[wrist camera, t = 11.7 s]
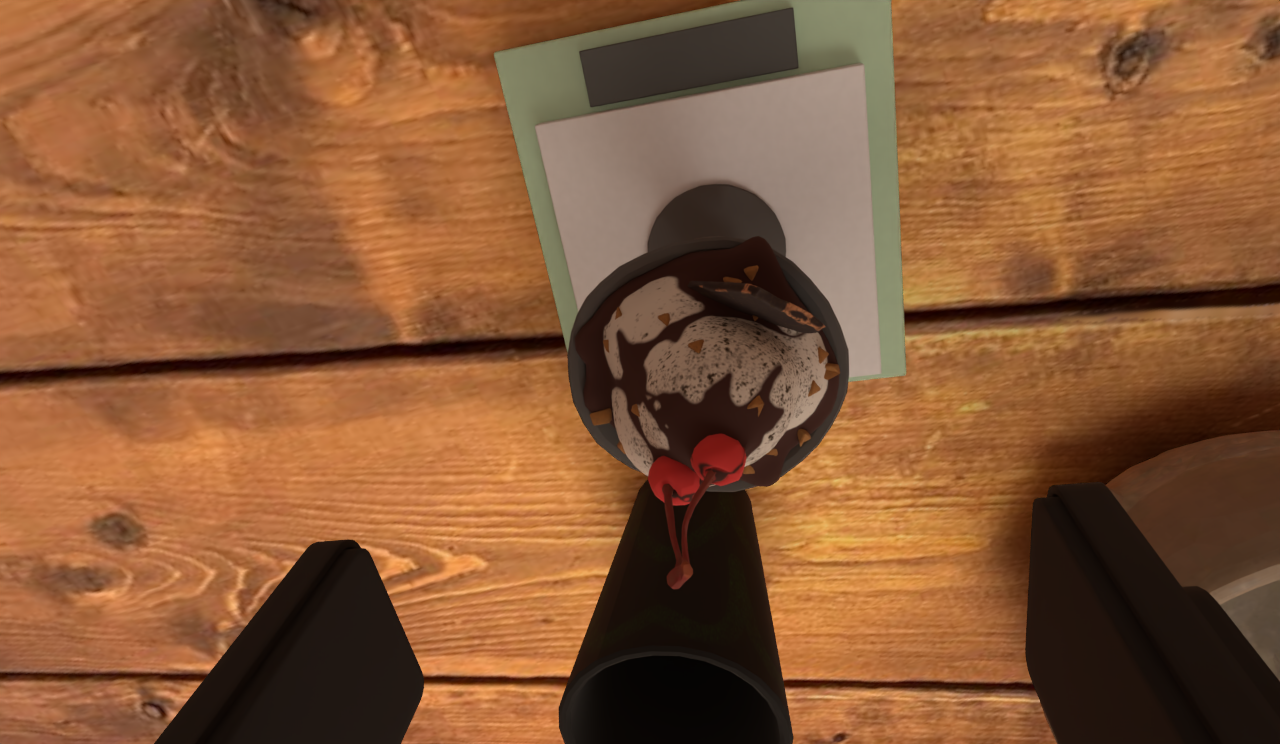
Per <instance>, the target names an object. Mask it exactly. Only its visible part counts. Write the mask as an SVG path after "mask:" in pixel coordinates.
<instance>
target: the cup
mask: <svg viewBox="0 0 1280 744" xmlns="http://www.w3.org/2000/svg"><path fill="white" fill-rule="evenodd" d="M688 506H689V504H687V505H678V506H675V505H673V511H674V519H675V531H676V538H677V542H678V545H679V549H680V552H681V556H682V543H681V542H682V524H683V520H684V517H685V514H686V511H687V508H688ZM687 545H688V555H689V562H690V565H691V567H692V569H693V574H692V576H691V577H690V578H689V579H688V580H687V581H686V582H685V583H684V584H683V585H682V586H681V587H680V588H679V589H672V588H671V587H670V586H669V585H668V584H667V575H668V573H669V572H670V571H671V570H672V569H674V568H675V565H676V557H675V553H674V550H673V547H672V543H671V540H670V535H669V529H668V523H667V518H666V512H665V503H664V502H663V501H661V500H660V499H659V498H657V497H656V496H655V494H654V492H653V491H652V489H651V486H650V484H649V481H648V480H647V481H646V482H645V483H644V485H643V486H642V487H641V489H640V490H639V493H638V495H637V498H636V501H635V503H634V506H633V509H632V511H631V514H630V517H629V519H628V522H627V525H626V527H625V530H624V533H623V535H622V538H621V541H620V544H619V546H618V549H617V552H616V554H615V557H614V560H613V562H612V565H611V568H610V570H609V573H608V576H607V578H606V581H605V584H604V586H603V589H602V592H601V595H600V597H599V600H598V603H597V605H596V608H595V611H594V613H593V616H592V619H591V621H590V624H589V627H588V629H587V632H586V635H585V637H584V640H583V643H582V645H581V648H580V651H579V654H578V656H577V659H576V662H575V664H574V667H573V670H572V672H571V675H570V678H569V680H568V683H567V686H566V688H565V691H564V694H563V697H562V700H561V703H560V706H559V729H560V731H561V734H562V737H563V740H564V743H565V744H792V743H793V733H792V727H791V721H790V716H789V710H788V705H787V699H786V694H785V688H784V683H783V677H782V672H781V666H780V660H779V655H778V649H777V644H776V638H775V633H774V627H773V622H772V616H771V611H770V605H769V600H768V594H767V589H766V583H765V578H764V572H763V566H762V561H761V555H760V550H759V544H758V539H757V533H756V528H755V522H754V517H753V511H752V506H751V501H750V499H749V497H748V495H747V493H746V491H745V490H740V491H736V492H710V491H705V493H704V494H703V496H702V497H701V499H700V500H699V502H698V503H697V505H696V506H695V508H694V511H693V513H692V516H691V518H690V520H689V524H688V529H687Z"/></svg>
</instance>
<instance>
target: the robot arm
mask: <svg viewBox="0 0 1280 744" xmlns="http://www.w3.org/2000/svg"><path fill="white" fill-rule="evenodd" d="M1025 650H1026V661H1027V666H1028V671H1029V674H1030V677H1031V680H1032V683H1033V685H1034V687H1035V690H1036V692H1037V695H1038V697H1039V699H1040V702H1041V704H1042V706H1043V709H1044V711H1045V713H1046V716H1047V718H1048V721H1049V723H1050V725H1051V728H1052V730H1053V732H1054V735H1055V737H1056V739H1057V742H1058V744H1280V681H1279V680H1278V678H1277V677H1276V676H1275V675H1274V673H1273V672H1272V671H1271V669H1270V668H1269V667H1268V666H1267V664H1266V663H1265V662H1264V660H1263V659H1262V658H1261V657H1260V655H1259V654H1258V653H1257V652H1256V650H1255V649H1254V648H1253V646H1252V645H1251V644H1250V643H1249V641H1248V640H1247V639H1246V638H1245V636H1244V635H1243V634H1242V632H1241V631H1240V630H1239V629H1238V627H1237V626H1236V625H1235V624H1234V622H1233V621H1232V620H1231V618H1230V617H1229V616H1228V615H1227V613H1226V612H1225V611H1224V609H1223V608H1222V607H1221V606H1220V604H1219V603H1218V602H1217V601H1216V600H1215V599H1214V598H1213V597H1212V596H1211V595H1210V594H1209V593H1208V592H1207V591H1206V590H1204V589H1202V588H1200V587H1198V586H1188V587H1182V586H1181V585H1180V584H1179V582H1178V581H1177V580H1176V578H1175V577H1174V576H1173V574H1172V573H1171V572H1170V570H1169V569H1168V567H1167V566H1166V565H1165V563H1164V562H1163V561H1162V559H1161V558H1160V557H1159V555H1158V554H1157V553H1156V551H1155V550H1154V549H1153V547H1152V546H1151V545H1150V543H1149V542H1148V541H1147V539H1146V538H1145V537H1144V535H1143V534H1142V533H1141V531H1140V530H1139V529H1138V527H1137V526H1136V524H1135V523H1134V522H1133V520H1132V519H1131V518H1130V516H1129V515H1128V514H1127V512H1126V511H1125V510H1124V508H1123V507H1122V506H1121V504H1120V503H1119V502H1118V500H1117V499H1116V498H1115V496H1114V495H1113V494H1112V492H1111V491H1110V490H1109V488H1108V487H1107V486H1106V485H1105V484H1104V483H1101V482H1090V483H1077V484H1064V485H1053V486H1051V487H1050V488H1049V490H1048V493H1047V497H1046V498H1036V499H1035V500H1034V502H1033V509H1032V529H1031V549H1030V568H1029V588H1028V608H1027V628H1026V648H1025ZM423 689H424V678H423V674H422V671H421V668H420V666H419V664H418V662H417V659H416V657H415V655H414V652H413V650H412V648H411V646H410V643H409V641H408V639H407V637H406V634H405V632H404V630H403V627H402V625H401V623H400V621H399V618H398V616H397V614H396V611H395V609H394V607H393V605H392V602H391V600H390V598H389V596H388V593H387V591H386V589H385V586H384V584H383V582H382V580H381V577H380V575H379V573H378V571H377V568H376V566H375V564H374V561H373V559H372V557H371V555H370V553H369V552H368V551H367V550H366V549H363V548H361V547H360V546H359V544H358V543H357V542H355V541H354V540H337V541H324V542H316V543H313V544H312V545H310V546H309V547H308V548H307V549H306V551H305V552H304V553H303V554H302V556H301V557H300V558H299V560H298V561H297V562H296V563H295V565H294V566H293V567H292V568H291V570H290V571H289V572H288V574H287V575H286V576H285V577H284V579H283V580H282V581H281V582H280V584H279V585H278V586H277V588H276V589H275V590H274V591H273V593H272V594H271V595H270V597H269V598H268V599H267V600H266V602H265V603H264V604H263V605H262V607H261V608H260V609H259V611H258V612H257V613H256V614H255V616H254V617H253V618H252V619H251V621H250V622H249V623H248V625H247V626H246V627H245V628H244V630H243V631H242V632H241V633H240V635H239V636H238V637H237V639H236V640H235V641H234V642H233V644H232V645H231V646H230V647H229V649H228V650H227V651H226V653H225V654H224V655H223V656H222V658H221V659H220V660H219V661H218V663H217V664H216V665H215V667H214V668H213V669H212V670H211V672H210V673H209V674H208V676H207V677H206V678H205V679H204V681H203V682H202V683H201V684H200V686H199V687H198V688H197V690H196V691H195V692H194V693H193V695H192V696H191V697H190V698H189V700H188V701H187V702H186V704H185V705H184V706H183V707H182V709H181V710H180V711H179V712H178V714H177V715H176V716H175V718H174V719H173V720H172V721H171V723H170V724H169V725H168V726H167V728H166V729H165V730H164V732H163V733H162V734H161V735H160V737H159V738H158V739H157V741H156V742H155V743H154V744H401V742H402V740H403V738H404V735H405V733H406V731H407V729H408V727H409V725H410V722H411V720H412V718H413V716H414V714H415V711H416V709H417V707H418V705H419V703H420V700H421V697H422V694H423Z"/></svg>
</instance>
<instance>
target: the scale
mask: <svg viewBox="0 0 1280 744" xmlns="http://www.w3.org/2000/svg"><path fill="white" fill-rule="evenodd" d="M494 58H495V62H496V66H497V70H498V74H499V78H500V82H501V86H502V90H503V94H504V98H505V102H506V106H507V110H508V114H509V119H510V123H511V127H512V131H513V135H514V139H515V143H516V147H517V151H518V155H519V159H520V163H521V167H522V171H523V175H524V179H525V183H526V187H527V191H528V195H529V199H530V203H531V207H532V211H533V215H534V219H535V223H536V227H537V231H538V235H539V239H540V244H541V248H542V252H543V256H544V260H545V264H546V268H547V272H548V276H549V280H550V284H551V288H552V292H553V296H554V300H555V304H556V308H557V312H558V316H559V320H560V324H561V328H562V332H563V336H564V340H565V344H566V348H567V352H568V348H569V342H570V335H571V331H572V328H573V325H574V322H575V319H576V315H577V313H578V311H579V310H580V308H581V306H582V304H583V302H584V300H585V299H586V297H587V296H588V295H589V294H590V293H591V292H592V291H593V290H594V288H595V287H596V286H597V285H598V284H599V283H600V282H601V281H602V280H604V279H605V278H606V277H607V276H608V275H610V274H611V273H612V272H613V271H614V270H616V269H617V268H618V267H619V266H621V265H623V264H625V263H627V262H629V261H631V260H633V259H635V258H637V257H639V256H641V255H643V254H645V253H647V252H648V240H649V236H650V233H651V229H652V227H653V225H654V222H655V220H656V218H657V216H658V215H659V214H660V213H661V211H662V210H663V209H664V208H665V207H666V206H667V205H668V204H669V203H670V202H671V201H672V200H673V199H674V198H675V197H677V196H679V195H680V194H682V193H684V192H686V191H688V190H691V189H693V188H696V187H698V186H702V185H711V184H729V185H732V186H736V187H739V188H742V189H744V190H747V191H749V192H751V193H753V194H755V195H757V196H758V197H759V198H760V199H761V200H763V201H764V202H765V203H766V204H767V205H768V206H769V207H770V208H771V209H772V211H773V212H774V213H775V214H776V216H777V218H778V220H779V222H780V224H781V227H782V230H783V232H784V235H785V238H786V258H788V259H790V260H791V261H793V262H794V263H795V264H796V265H797V266H798V267H799V268H800V269H801V270H802V271H803V272H804V273H805V274H806V275H807V276H808V277H809V278H810V279H811V280H812V281H813V283H814V284H815V285H816V286H817V288H818V289H819V290H820V291H821V292H822V294H823V295H824V296H825V297H826V299H827V300H828V301H829V303H830V305H831V307H832V309H833V311H834V313H835V315H836V317H837V319H838V321H839V324H840V326H841V329H842V332H843V335H844V338H845V341H846V344H847V347H848V350H849V380H848V382H851V381H860V380H869V379H878V378H887V377H896V376H905V375H906V353H905V329H904V304H903V280H902V255H901V231H900V206H899V181H898V157H897V132H896V108H895V83H894V58H893V34H892V9H891V0H740V1H736V2H731V3H726V4H721V5H717V6H712V7H707V8H702V9H697V10H693V11H688V12H683V13H678V14H674V15H669V16H664V17H659V18H654V19H650V20H645V21H640V22H635V23H631V24H626V25H621V26H616V27H611V28H607V29H602V30H597V31H592V32H588V33H583V34H578V35H573V36H568V37H564V38H559V39H554V40H549V41H545V42H540V43H535V44H530V45H525V46H521V47H516V48H511V49H506V50H502V51H497V52H495V53H494Z"/></svg>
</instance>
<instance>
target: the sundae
mask: <svg viewBox="0 0 1280 744" xmlns="http://www.w3.org/2000/svg"><path fill="white" fill-rule="evenodd" d="M567 356H568V374H569V382H570V387H571V393H572V398H573V403H574V405H575V407H576V409H577V411H578V413H579V415H580V417H581V419H582V421H583V424H584V425H585V427H586V428H587V429H588V431H589V432H590V434H591V435H592V437H593V438H594V440H595V441H596V442H597V444H599V445H600V446H601V447H602V448H603V449H605V450H606V451H607V452H608V453H610V454H611V455H612V456H613V457H614V458H616V459H617V460H619V461H621V462H622V463H624V464H625V465H627V466H629V467H630V468H632V469H634V470H637V471H639V472H642V473H644V474H645V475H646V476H648V481H649V484H650V486H651V489H652V491H653V492H654V494H655V496H656V497H657V498H659V499H660V500H661V501H663V502H664V503H665V512H666V518H667V523H668V529H669V535H670V540H671V543H672V547H673V550H674V553H675V557H676V565H675V568H674V569H672V570H671V571H670V572H669V573H668V575H667V584H668V585H669V586H670V587H671V588H672V589H679V588H680V587H681V586H682V585H683V584H684V583H685V582H686V581H687V580H688V579H689V578H690V577H691V576H692V574H693V569H692V567H691V565H690V562H689V555H688V545H687V529H688V524H689V520H690V518H691V516H692V513H693V511H694V508H695V506H696V505H697V503H698V502H699V500H700V499H701V497H702V496H703V494H704V493H705V491H710V492H736V491H740V490H745V489H749V488H753V487H757V486H766V487H767V486H771V485H772V484H774V483H775V482H777V480H778V479H779V478H780V477H782V476H783V475H784V474H786V473H787V472H788V471H790V470H791V469H792V468H794V467H795V466H796V465H798V464H799V463H800V462H801V461H803V460H804V459H805V458H806V457H807V456H808V455H809V454H810V453H811V452H812V451H813V450H814V449H815V448H816V447H817V446H818V445H819V443H820V442H821V441H822V439H823V438H824V436H825V435H826V433H827V432H828V430H829V429H830V428H831V426H832V424H833V422H834V420H835V419H836V417H837V415H838V413H839V411H840V409H841V406H842V404H843V401H844V399H845V396H846V393H847V388H848V380H849V350H848V347H847V344H846V341H845V338H844V335H843V332H842V329H841V326H840V324H839V321H838V319H837V317H836V315H835V313H834V311H833V309H832V307H831V305H830V303H829V301H828V300H827V299H826V297H825V296H824V295H823V294H822V292H821V291H820V290H819V289H818V288H817V286H816V285H815V284H814V283H813V281H812V280H811V279H810V278H809V277H808V276H807V275H806V274H805V273H804V272H803V271H802V270H801V269H800V268H799V267H798V266H797V265H796V264H795V263H794V262H793V261H791V260H790V259H788V258H786V238H785V235H784V232H783V230H782V227H781V224H780V222H779V220H778V218H777V216H776V214H775V213H774V212H773V211H772V209H771V208H770V207H769V206H768V205H767V204H766V203H765V202H764V201H763V200H761V199H760V198H759V197H758V196H757V195H755V194H753V193H751V192H749V191H747V190H744V189H742V188H739V187H736V186H732V185H729V184H711V185H702V186H698V187H696V188H693V189H691V190H688V191H686V192H684V193H682V194H680V195H679V196H677V197H675V198H674V199H673V200H672V201H671V202H670V203H669V204H668V205H667V206H666V207H665V208H664V209H663V210H662V211H661V213H660V214H659V215H658V216H657V218H656V220H655V222H654V225H653V227H652V229H651V233H650V236H649V240H648V252H647V253H645V254H643V255H641V256H639V257H637V258H635V259H633V260H631V261H629V262H627V263H625V264H623V265H621V266H619V267H618V268H617V269H616V270H614V271H613V272H612V273H611V274H610V275H608V276H607V277H606V278H605V279H604V280H602V281H601V282H600V283H599V284H598V285H597V286H596V287H595V288H594V290H593V291H592V292H591V293H590V294H589V295H588V296H587V297H586V299H585V300H584V302H583V304H582V306H581V308H580V310H579V311H578V313H577V315H576V319H575V322H574V325H573V328H572V331H571V335H570V342H569V348H568V355H567ZM687 504H689V506H688V508H687V511H686V514H685V517H684V520H683V524H682V542H681V543H682V556H681V552H680V549H679V545H678V542H677V538H676V531H675V519H674V511H673V505H675V506H678V505H687Z"/></svg>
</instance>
